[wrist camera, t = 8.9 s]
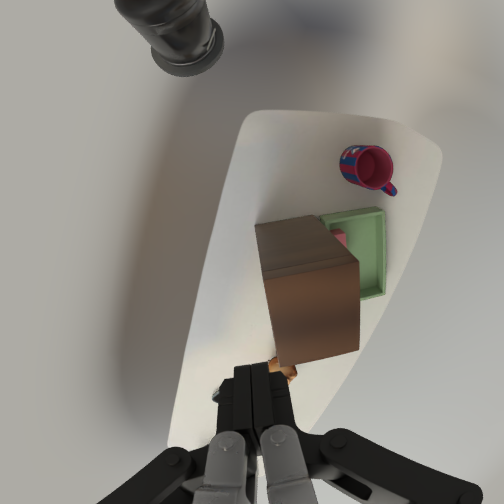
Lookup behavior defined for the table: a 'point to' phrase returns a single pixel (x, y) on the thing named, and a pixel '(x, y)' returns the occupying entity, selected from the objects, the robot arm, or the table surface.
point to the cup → (368, 168)
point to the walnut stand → (309, 290)
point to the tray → (364, 245)
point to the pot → (283, 369)
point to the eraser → (339, 235)
